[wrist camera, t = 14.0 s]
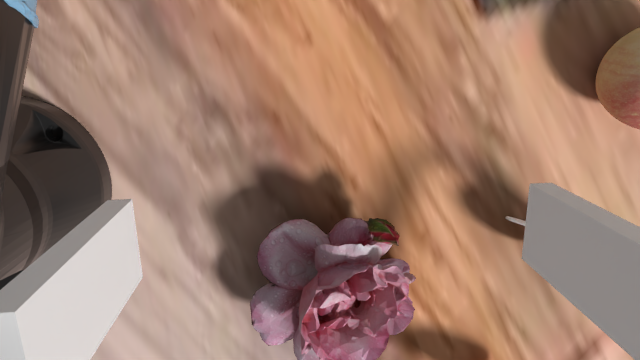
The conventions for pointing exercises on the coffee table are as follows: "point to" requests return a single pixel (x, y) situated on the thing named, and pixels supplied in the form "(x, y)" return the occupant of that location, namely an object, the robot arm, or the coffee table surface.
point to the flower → (332, 289)
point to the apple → (621, 79)
